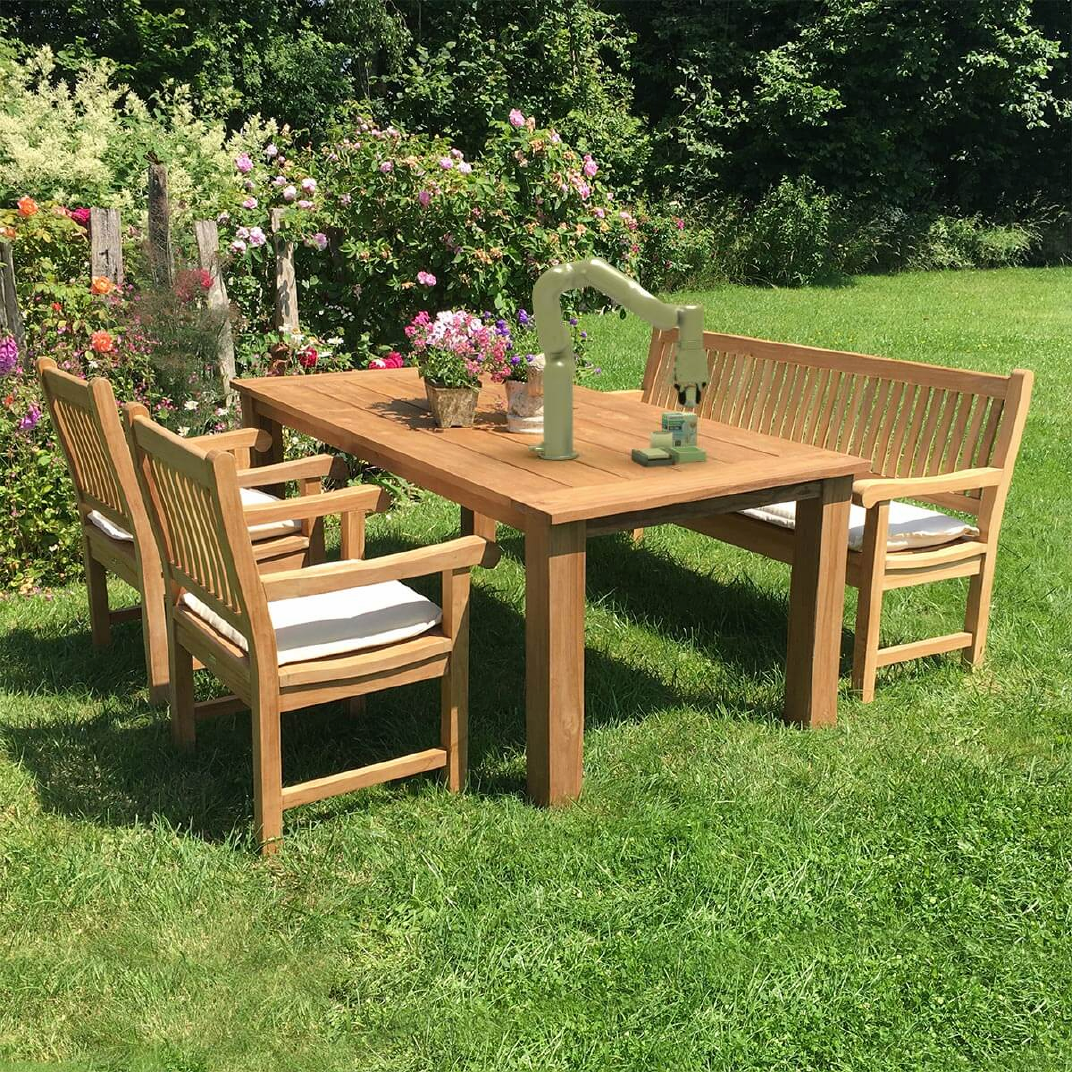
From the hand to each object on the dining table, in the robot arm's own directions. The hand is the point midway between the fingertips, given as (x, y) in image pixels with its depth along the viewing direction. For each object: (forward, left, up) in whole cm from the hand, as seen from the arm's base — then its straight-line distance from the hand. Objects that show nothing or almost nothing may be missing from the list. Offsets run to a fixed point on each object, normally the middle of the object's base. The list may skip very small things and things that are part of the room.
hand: (689, 403), depth 376 cm
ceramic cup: (-5, +10, -18) cm, 21 cm away
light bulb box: (+6, +22, -18) cm, 29 cm away
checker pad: (-12, -1, -16) cm, 20 cm away
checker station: (-12, -1, -18) cm, 22 cm away
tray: (0, 0, -18) cm, 18 cm away
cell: (0, 0, -1) cm, 1 cm away
